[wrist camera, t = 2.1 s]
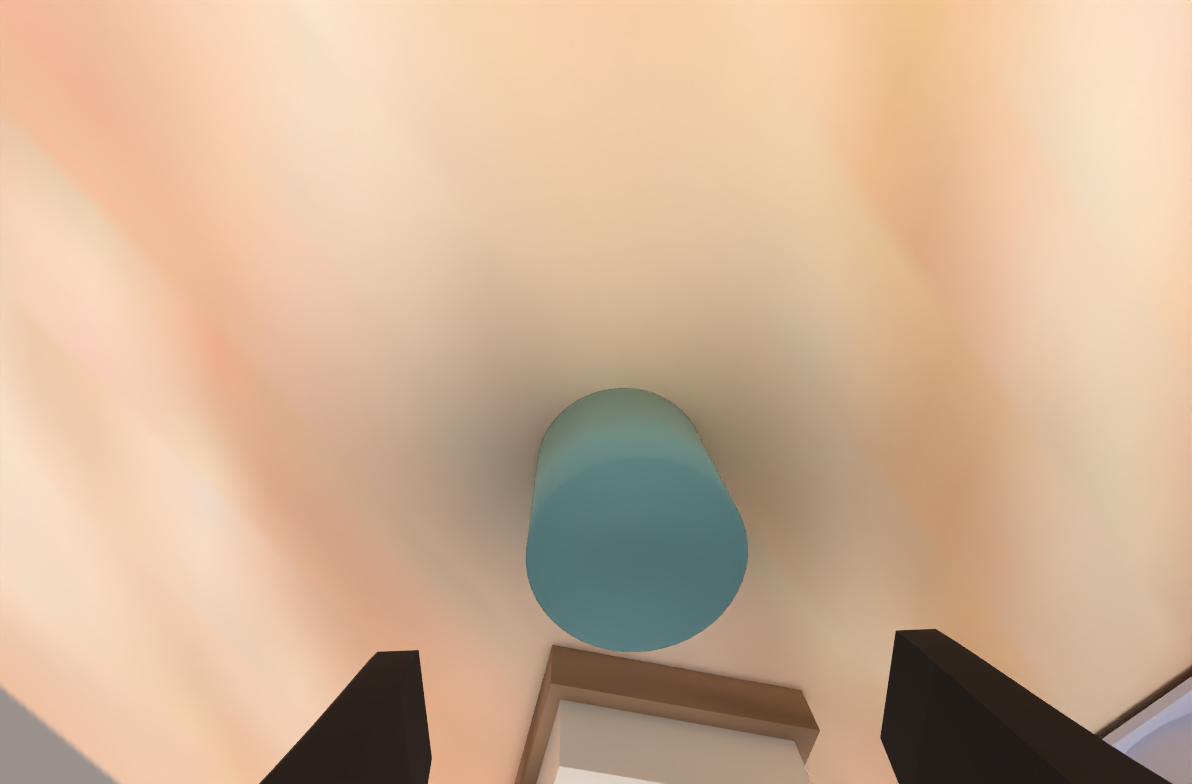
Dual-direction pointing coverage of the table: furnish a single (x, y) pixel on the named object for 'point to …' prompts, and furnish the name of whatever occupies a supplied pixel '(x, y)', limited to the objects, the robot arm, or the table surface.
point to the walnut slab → (663, 701)
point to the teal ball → (631, 525)
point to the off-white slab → (660, 751)
